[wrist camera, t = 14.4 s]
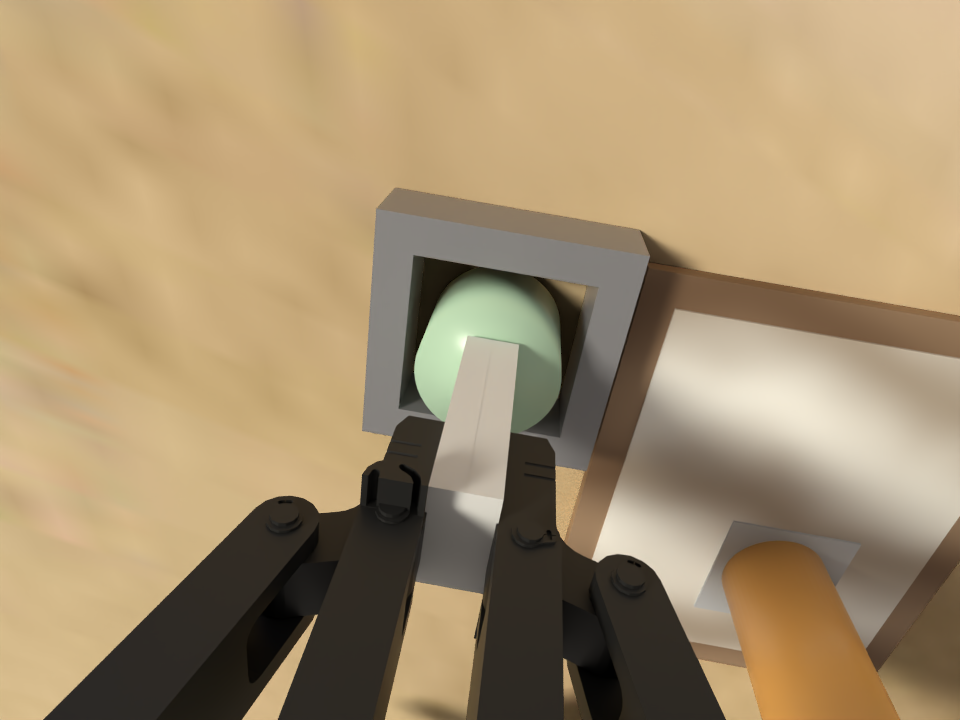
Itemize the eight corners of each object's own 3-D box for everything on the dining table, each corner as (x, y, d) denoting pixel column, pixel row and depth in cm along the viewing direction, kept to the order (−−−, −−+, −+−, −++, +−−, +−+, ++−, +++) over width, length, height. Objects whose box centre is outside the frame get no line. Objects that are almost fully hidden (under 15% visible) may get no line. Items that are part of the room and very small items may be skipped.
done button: (546, 390, 23) (545, 448, 20) (427, 368, 23) (408, 423, 20) (572, 278, 21) (576, 324, 18) (441, 255, 21) (421, 297, 18)
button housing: (583, 429, 24) (586, 471, 22) (379, 393, 24) (362, 430, 22) (639, 229, 20) (650, 256, 18) (395, 187, 20) (376, 208, 18)
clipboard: (858, 677, 29) (866, 693, 29) (541, 619, 30) (541, 633, 29) (1102, 340, 20) (1121, 352, 20) (646, 261, 21) (649, 270, 20)
